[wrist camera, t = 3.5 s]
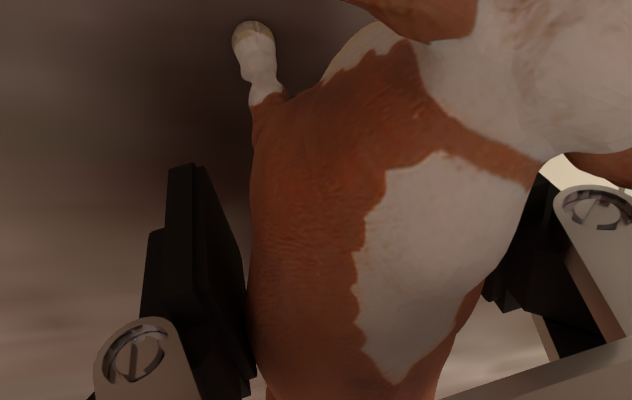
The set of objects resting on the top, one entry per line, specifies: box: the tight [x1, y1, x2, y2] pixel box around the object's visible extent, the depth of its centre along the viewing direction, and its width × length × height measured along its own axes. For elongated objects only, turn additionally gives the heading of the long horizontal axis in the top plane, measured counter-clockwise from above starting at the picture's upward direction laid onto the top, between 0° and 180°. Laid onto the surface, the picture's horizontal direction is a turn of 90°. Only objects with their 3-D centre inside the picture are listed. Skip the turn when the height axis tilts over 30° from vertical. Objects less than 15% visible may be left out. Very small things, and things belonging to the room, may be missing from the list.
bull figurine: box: [231, 0, 632, 400], centre depth 9 cm, size 4×13×8 cm, turn 174°
